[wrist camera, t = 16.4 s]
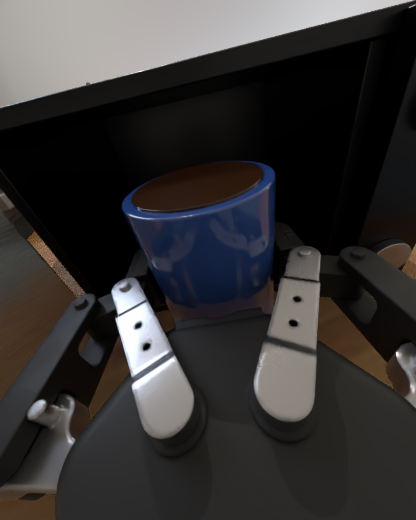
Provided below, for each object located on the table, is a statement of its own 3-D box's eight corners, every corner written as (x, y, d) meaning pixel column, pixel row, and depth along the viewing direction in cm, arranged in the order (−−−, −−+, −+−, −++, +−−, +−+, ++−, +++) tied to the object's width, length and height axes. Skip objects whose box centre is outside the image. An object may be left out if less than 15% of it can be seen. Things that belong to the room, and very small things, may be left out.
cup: (244, 391, 11) (213, 231, 5) (164, 336, 14) (90, 206, 8) (287, 307, 15) (300, 156, 9) (215, 280, 18) (188, 160, 12)
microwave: (401, 289, 19) (601, -61, 8) (100, 340, 21) (-106, 124, 10) (296, 196, 38) (307, 59, 27) (144, 227, 40) (94, 111, 29)
